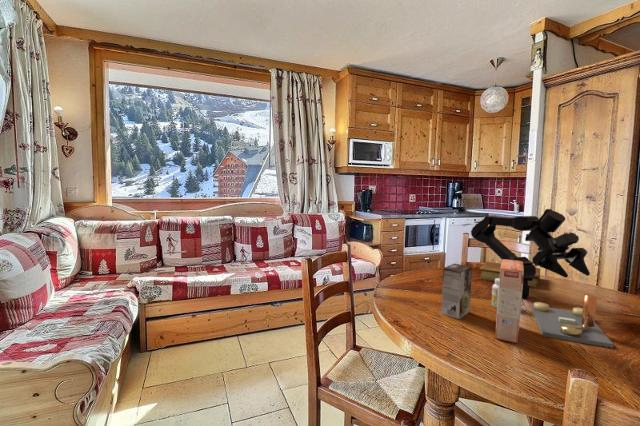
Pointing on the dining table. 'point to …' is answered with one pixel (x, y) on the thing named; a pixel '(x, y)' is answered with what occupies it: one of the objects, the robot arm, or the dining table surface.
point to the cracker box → (509, 300)
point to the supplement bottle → (495, 292)
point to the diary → (493, 271)
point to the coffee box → (456, 290)
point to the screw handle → (583, 317)
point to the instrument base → (554, 318)
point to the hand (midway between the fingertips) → (578, 275)
